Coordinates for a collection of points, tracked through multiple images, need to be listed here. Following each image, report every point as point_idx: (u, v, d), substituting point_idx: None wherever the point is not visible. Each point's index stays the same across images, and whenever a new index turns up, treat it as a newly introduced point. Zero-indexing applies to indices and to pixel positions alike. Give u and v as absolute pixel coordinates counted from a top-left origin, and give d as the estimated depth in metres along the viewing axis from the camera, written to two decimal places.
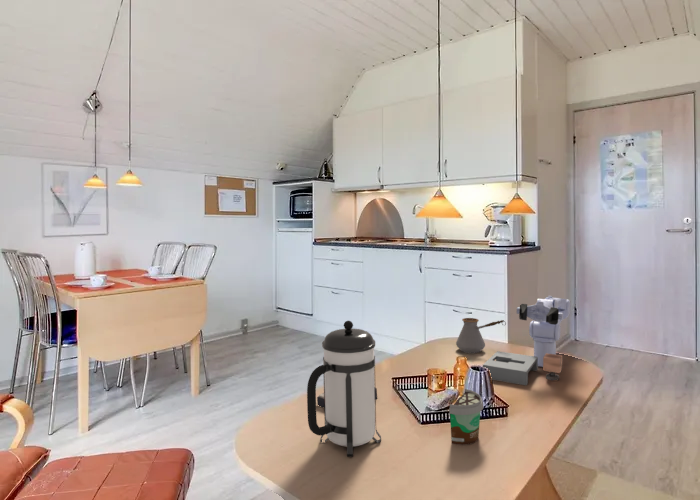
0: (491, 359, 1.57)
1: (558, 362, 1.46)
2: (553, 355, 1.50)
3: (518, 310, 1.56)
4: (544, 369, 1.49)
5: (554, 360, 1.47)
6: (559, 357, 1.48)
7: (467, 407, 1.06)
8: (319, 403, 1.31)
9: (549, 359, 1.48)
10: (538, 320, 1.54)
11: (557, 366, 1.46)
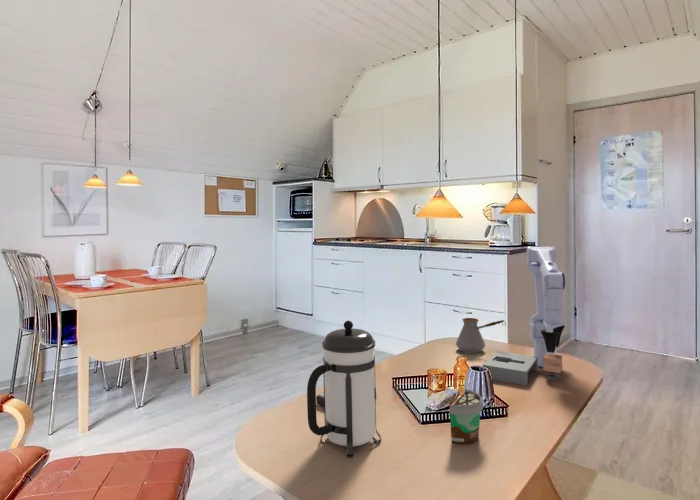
0: (491, 359, 1.57)
1: (558, 362, 1.46)
2: (553, 355, 1.50)
3: None
4: (544, 369, 1.49)
5: (554, 360, 1.47)
6: (559, 357, 1.48)
7: (467, 407, 1.06)
8: (318, 402, 1.32)
9: (549, 359, 1.48)
10: None
11: (557, 366, 1.46)
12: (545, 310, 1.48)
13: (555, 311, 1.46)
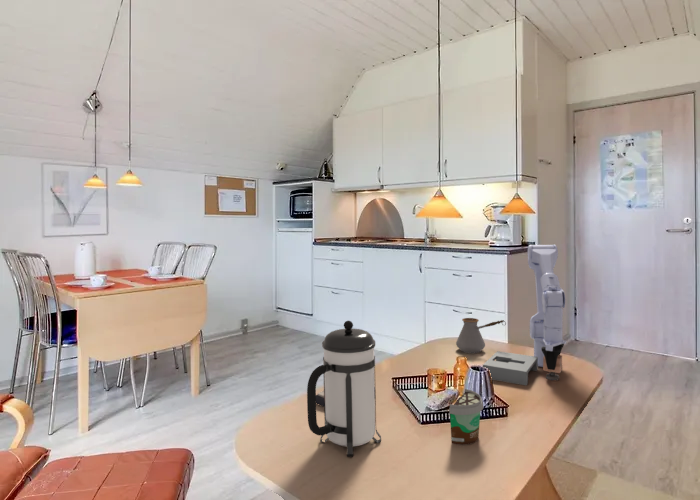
0: (491, 359, 1.57)
1: (558, 362, 1.46)
2: None
3: None
4: (544, 369, 1.49)
5: None
6: (559, 357, 1.48)
7: (467, 407, 1.06)
8: (317, 401, 1.32)
9: None
10: None
11: (557, 366, 1.46)
12: (545, 328, 1.48)
13: (555, 329, 1.46)
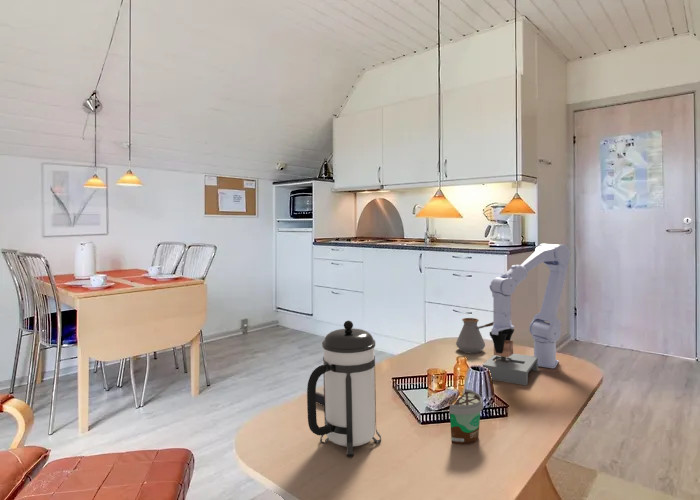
0: (491, 359, 1.57)
1: (507, 347, 1.53)
2: None
3: None
4: (494, 353, 1.56)
5: None
6: (509, 342, 1.54)
7: (467, 407, 1.06)
8: (316, 399, 1.34)
9: None
10: None
11: (506, 351, 1.53)
12: (494, 313, 1.55)
13: (502, 315, 1.53)
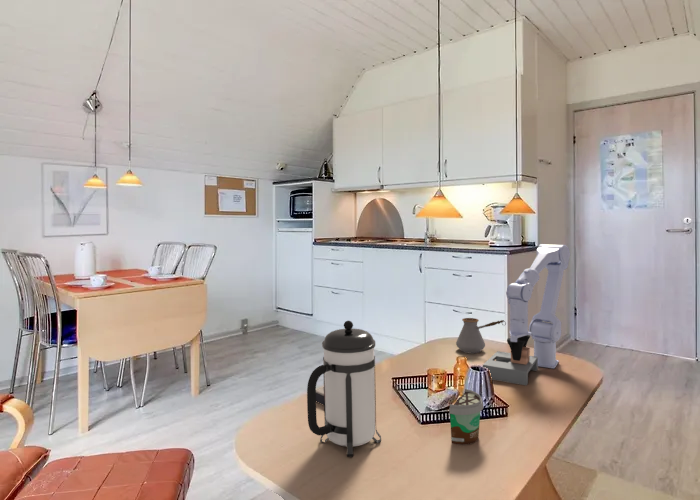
0: (491, 359, 1.57)
1: (525, 354, 1.50)
2: None
3: None
4: (512, 361, 1.52)
5: None
6: (526, 349, 1.52)
7: (467, 407, 1.06)
8: None
9: None
10: None
11: (524, 358, 1.50)
12: (511, 320, 1.52)
13: (520, 321, 1.50)
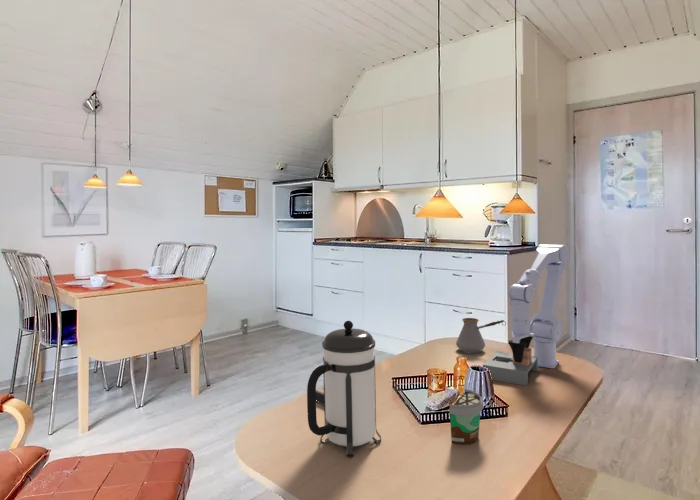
0: (491, 359, 1.57)
1: (527, 355, 1.50)
2: None
3: None
4: (513, 362, 1.52)
5: (523, 353, 1.50)
6: (528, 350, 1.51)
7: (467, 407, 1.06)
8: None
9: None
10: None
11: (526, 359, 1.50)
12: (513, 321, 1.52)
13: (522, 322, 1.50)
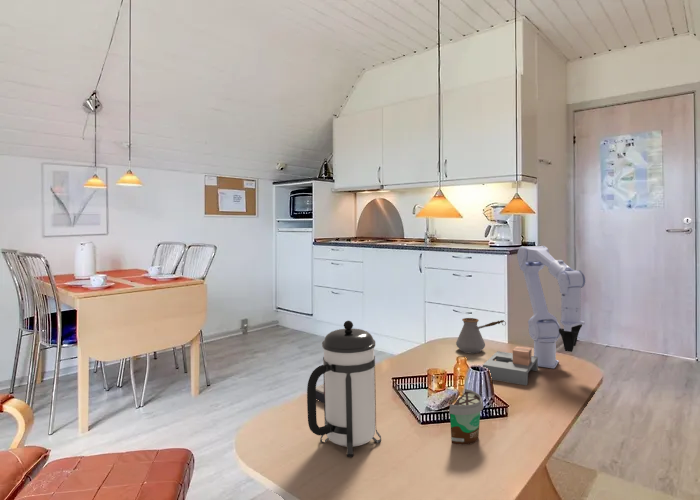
0: (491, 359, 1.57)
1: (527, 355, 1.50)
2: (523, 348, 1.54)
3: None
4: (513, 362, 1.52)
5: (523, 353, 1.50)
6: (528, 350, 1.51)
7: (467, 407, 1.06)
8: None
9: (518, 352, 1.51)
10: None
11: (526, 359, 1.50)
12: (563, 309, 1.47)
13: (573, 310, 1.44)
